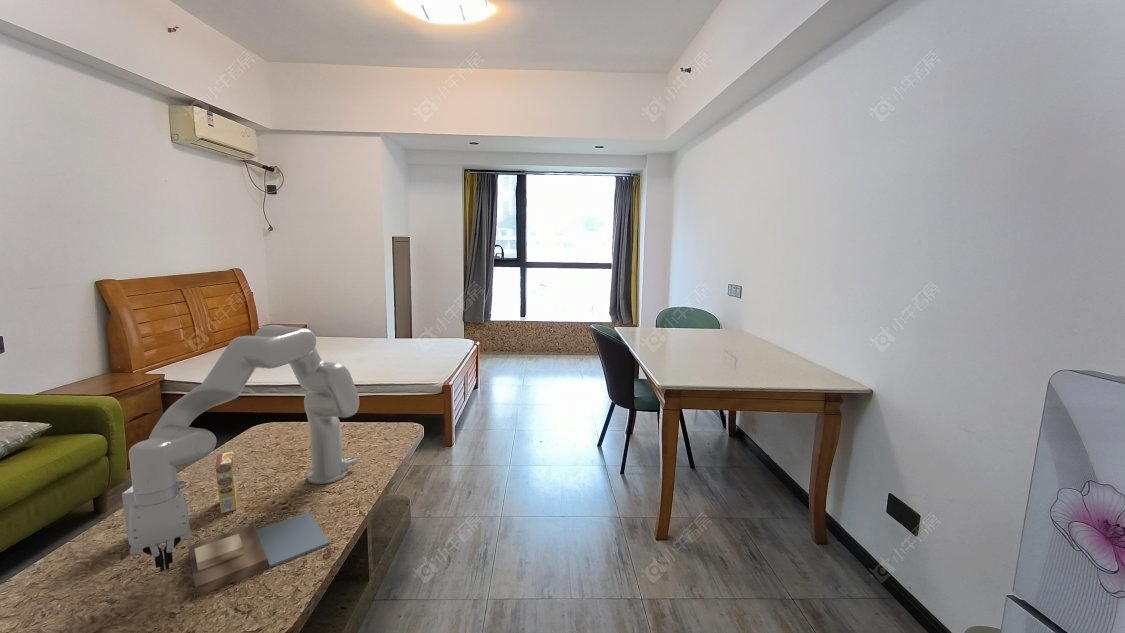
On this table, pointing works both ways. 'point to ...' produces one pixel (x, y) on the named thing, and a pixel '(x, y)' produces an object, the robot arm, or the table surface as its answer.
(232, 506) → the candy box
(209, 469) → the table surface
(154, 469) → the robot arm
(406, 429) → the table surface
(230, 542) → the tile
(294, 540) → the mat
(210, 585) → the block
